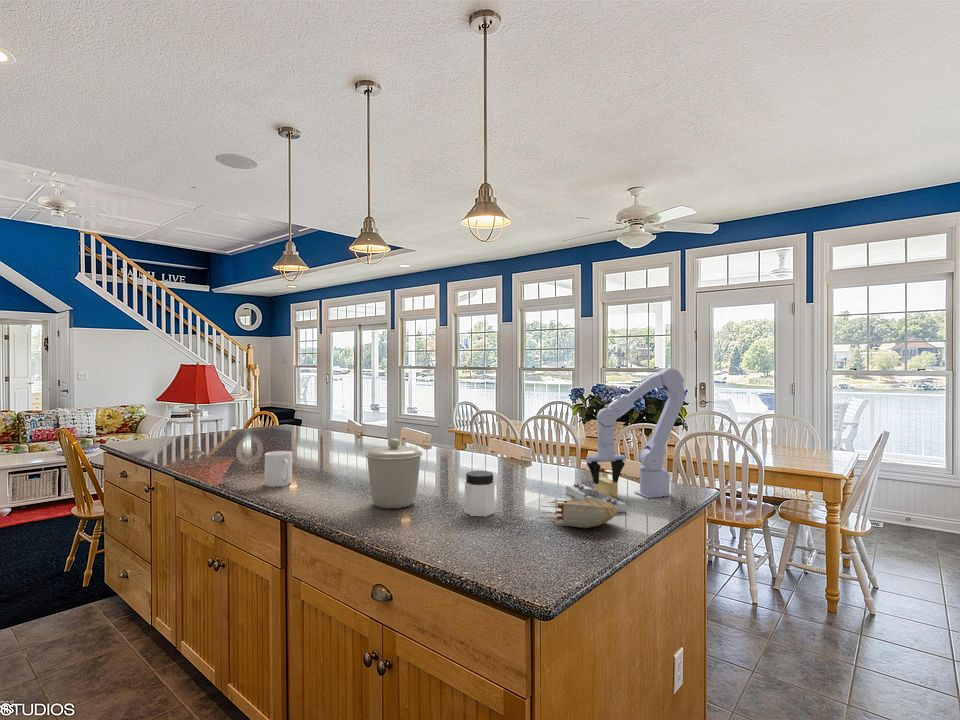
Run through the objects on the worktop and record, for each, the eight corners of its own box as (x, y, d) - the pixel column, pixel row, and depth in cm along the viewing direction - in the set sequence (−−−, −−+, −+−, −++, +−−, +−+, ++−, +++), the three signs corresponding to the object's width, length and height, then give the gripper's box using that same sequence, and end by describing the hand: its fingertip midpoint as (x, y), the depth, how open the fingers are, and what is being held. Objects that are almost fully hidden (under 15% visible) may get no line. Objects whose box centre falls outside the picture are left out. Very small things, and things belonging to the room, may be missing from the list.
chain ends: (582, 491, 185) (582, 482, 185) (626, 511, 161) (626, 501, 161) (565, 493, 183) (565, 483, 183) (607, 513, 158) (607, 502, 158)
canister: (353, 505, 167) (353, 438, 167) (398, 494, 180) (398, 433, 180) (388, 516, 155) (388, 445, 155) (434, 504, 168) (434, 438, 168)
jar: (498, 515, 157) (498, 475, 157) (473, 518, 153) (473, 477, 153) (485, 507, 165) (485, 469, 165) (461, 510, 161) (461, 471, 161)
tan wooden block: (603, 490, 187) (603, 476, 187) (617, 497, 179) (617, 482, 179) (594, 491, 186) (594, 477, 186) (608, 497, 178) (608, 483, 178)
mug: (279, 480, 201) (280, 450, 201) (302, 484, 195) (302, 452, 196) (258, 485, 193) (259, 453, 193) (281, 489, 187) (281, 456, 187)
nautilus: (532, 529, 146) (548, 517, 159) (611, 535, 137) (621, 522, 150) (531, 500, 146) (547, 491, 160) (609, 504, 137) (619, 494, 151)
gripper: (617, 440, 189) (617, 478, 189) (581, 442, 184) (581, 481, 184) (629, 443, 182) (628, 483, 182) (592, 445, 177) (591, 486, 177)
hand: (605, 482), depth 182 cm, fingers open, 7 cm apart
